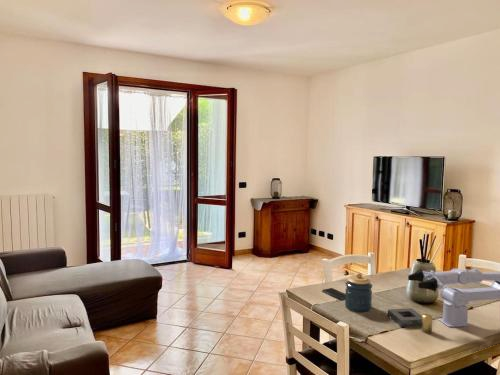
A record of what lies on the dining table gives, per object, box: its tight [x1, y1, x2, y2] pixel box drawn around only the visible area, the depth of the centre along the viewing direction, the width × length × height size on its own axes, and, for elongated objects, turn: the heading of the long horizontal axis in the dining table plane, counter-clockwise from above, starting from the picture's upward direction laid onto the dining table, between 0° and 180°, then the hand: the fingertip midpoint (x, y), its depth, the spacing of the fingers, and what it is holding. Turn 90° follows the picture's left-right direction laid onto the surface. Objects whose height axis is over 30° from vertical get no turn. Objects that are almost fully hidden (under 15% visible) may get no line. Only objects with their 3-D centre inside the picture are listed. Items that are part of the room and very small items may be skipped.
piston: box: [421, 313, 433, 334], centre depth 163 cm, size 4×4×7 cm
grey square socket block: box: [387, 307, 422, 328], centre depth 174 cm, size 12×12×3 cm
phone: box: [321, 287, 346, 301], centre depth 206 cm, size 8×1×15 cm
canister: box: [344, 272, 373, 313], centre depth 188 cm, size 13×13×18 cm
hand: (413, 281), depth 166 cm, fingers open, 7 cm apart
